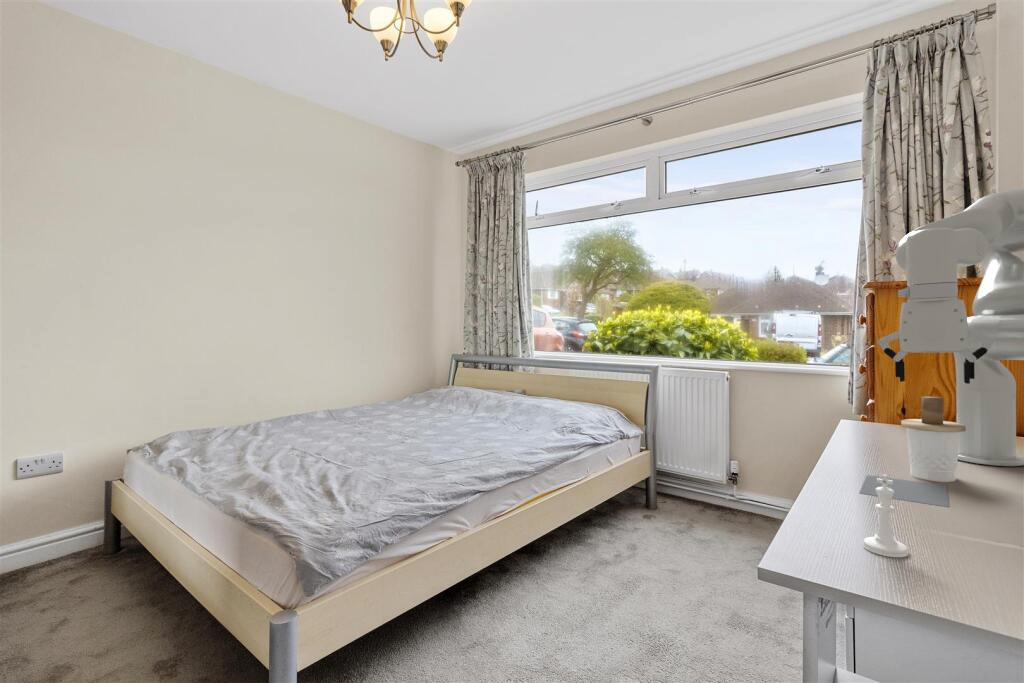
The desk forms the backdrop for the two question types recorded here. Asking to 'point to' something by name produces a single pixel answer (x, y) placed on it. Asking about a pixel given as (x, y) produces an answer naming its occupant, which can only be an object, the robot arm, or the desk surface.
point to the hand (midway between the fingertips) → (933, 381)
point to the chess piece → (885, 526)
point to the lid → (933, 418)
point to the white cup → (933, 454)
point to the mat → (909, 491)
